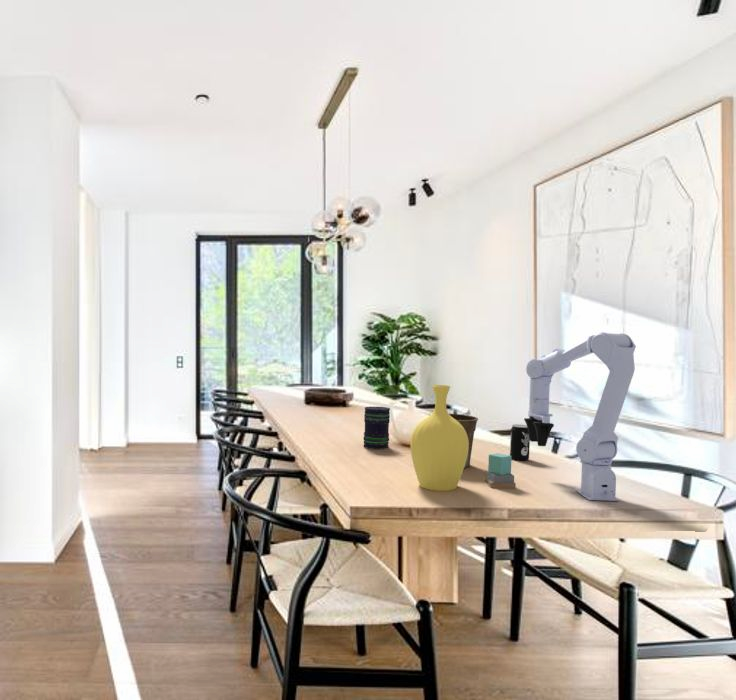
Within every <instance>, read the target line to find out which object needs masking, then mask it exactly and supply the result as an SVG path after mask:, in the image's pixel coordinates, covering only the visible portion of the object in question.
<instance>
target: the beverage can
mask: <svg viewBox="0 0 736 700" xmlns="http://www.w3.org/2000/svg"><path fill="white" fill-rule="evenodd" d="M530 442H531V441H530V438H529V432H528V428H527V425H526V424H512V425H511V428H510V446H509V456H511V460H513V459H514V460H513V461H517V460H519V461H518V462H525V461H526V460H527V461H528V460H529V459H530V445H531V444H530ZM527 461H526V462H527Z"/></svg>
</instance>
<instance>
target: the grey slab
mask: <svg viewBox="0 0 736 700" xmlns="http://www.w3.org/2000/svg"><path fill="white" fill-rule="evenodd" d="M485 477H486V478H488V479H489V480H490V481H492V482H493V483H515V475H514V474H512V473H511V474H505V475H498V474H494V473H490V472H488V470H486V471H485Z"/></svg>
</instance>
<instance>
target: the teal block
mask: <svg viewBox="0 0 736 700" xmlns="http://www.w3.org/2000/svg"><path fill="white" fill-rule="evenodd" d="M487 467H488V470H487V471H488V472H490V473H494V474H498V475H505V474H512V459H511V456H510V454H504V453H500V452H499V453H498V452H497V453H492V454H488V466H487Z"/></svg>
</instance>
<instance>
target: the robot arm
mask: <svg viewBox="0 0 736 700" xmlns="http://www.w3.org/2000/svg"><path fill="white" fill-rule="evenodd" d="M635 350H636V344H635V343H634V341H633V339H632V338H631V337H630V335H628V334H626V333H610V332H609V333H608V332H602V331H600V332H597V333H595V334H591V335H589V336H588V337H587V338H586V339H584V340H582V341H581V342H579V343H578V344H575V345H573V346H572V347H570V348H568V349H567V350H565V349H562V348H561V349H560V348H555V349H553V350H552V352H551V353H549V354H547V355H542V356H541V357H540V359H537V358H532V359H530V360H529V361H528V363H526V375H528V377H529V404H528V405H529V407H528V412H527V415H528V416H527V417H528V418H526V417H525V418H524V419H523V421H524V423H525V425H527V428H528V432H529V438H530V442H535V443H536V444H537V447H546V446H547V442H548V440H549V435H550V433H551V431H552V430H553V428H554V426H555V424H554V423H552V422H551V417H553V413H550V388H551V387H550V384H551V383H552V378H553V377H554V374H556V373H558V372H561V371H563V370H565V369H567V368H569V367H570V366H571V365H572V364H571V363H572V361H576V360H578V359H581V358H583V357H586V356H588V355H591V354H594V355H595V356H596V357H597V358H598V359H599V360H600V361H601V362H602V363H603V364H604V365H605V366H606V367H607V369H608V371H609V372H608V375H607V379H606V381H605V385H604V388H603V391H602V394H601V398H600V400H599V403H598V407H597V410H596V413H595V415H594V419H593V421H592V425H591V426H590V427H589V428H587V430H585V431H584V432H583V436H582V437H581V438H580V440H578V442H577V444H576V448H575V449H576V454H577V456H578V458H579V459H580V462H581V474H580V475H581V479H580V480H581V482H580V488H575V489H574V490H575V492H576V493H578V494H580V495H582V496H583V498H585V499H587V500H589V501H607V502H608V501H609V502H610V501H611V502H613V501H614V502H619V501H620V499H619V498H618V497H616V495H617V494H616V493H617V491H616V490H617V489H616V488H617V477H616V474H615V472H614V470H612V463H613V460H614V459H615V457H616V456H617V455H618V440H619V436H617V434H616V433H615V430H616V427H617V424H618V420H619V417H620V416H621V412H622V409H623V405H624V403H625V400H626V396H627V394H628V392H629V391H628V390H629V388H630V385H631V383H632V379H633V376H634V374H635V370H636V369H635V368H636V367H635V359H634V357H635V356H634V353H635Z"/></svg>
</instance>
